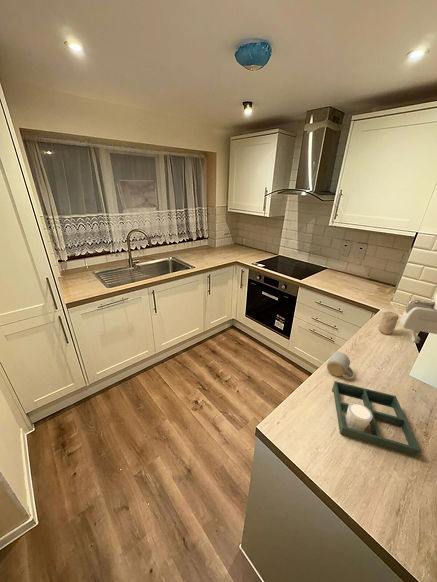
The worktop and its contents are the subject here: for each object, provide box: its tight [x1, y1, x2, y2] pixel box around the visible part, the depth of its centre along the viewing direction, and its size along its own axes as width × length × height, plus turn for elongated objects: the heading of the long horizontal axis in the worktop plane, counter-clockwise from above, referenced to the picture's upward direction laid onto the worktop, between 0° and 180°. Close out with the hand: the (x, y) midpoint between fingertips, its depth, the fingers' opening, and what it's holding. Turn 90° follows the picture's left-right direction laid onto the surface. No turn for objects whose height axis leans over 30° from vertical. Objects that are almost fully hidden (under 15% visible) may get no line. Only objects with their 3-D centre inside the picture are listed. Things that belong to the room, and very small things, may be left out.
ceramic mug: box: [326, 351, 355, 381], centre depth 99 cm, size 11×8×8 cm
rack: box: [331, 380, 421, 458], centre depth 79 cm, size 20×20×5 cm
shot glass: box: [344, 401, 373, 432], centre depth 76 cm, size 7×7×7 cm
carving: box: [377, 311, 400, 335], centre depth 129 cm, size 6×8×12 cm
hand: (432, 345), depth 72 cm, fingers open, 8 cm apart
